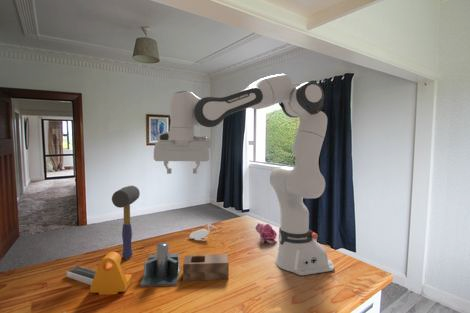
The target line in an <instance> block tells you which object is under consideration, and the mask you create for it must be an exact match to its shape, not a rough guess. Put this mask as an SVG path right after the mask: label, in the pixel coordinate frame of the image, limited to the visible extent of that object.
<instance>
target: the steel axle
mask: <svg viewBox="0 0 470 313" xmlns="http://www.w3.org/2000/svg"><path fill="white" fill-rule="evenodd" d="M156 254H157V262H156V276H157V277H165V276H167V275H168V254H169V243H168V242H164V241H162V242H158V243H157V244H156Z"/></svg>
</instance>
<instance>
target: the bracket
mask: <svg viewBox="0 0 470 313" xmlns="http://www.w3.org/2000/svg"><path fill="white" fill-rule="evenodd" d="M121 263H122V255H120V253H118V252H116V251H110V252H107V254H106V255H105V256H104V257H103V258H102V259H101V260H100V261H99V264H98V266H97V269H96V270H95V271H96V274H95V276H94V279H93V281H92V284H91V285H90V288H89V290H90V294H91V293H94V294H95V293H96V294H97V293H98V295H99V296H101V295H102V296H104V295H105V296H106V295H117V294H119V292H123V293H124V292H126V291H127V290H128V288H129V286H130V284H131V283H132V282H133V278H132V277H133V276H132V274H131V273H129V274H128V273H126V274H125V273H124V270H123V268H122V266H121Z"/></svg>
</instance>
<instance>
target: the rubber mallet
mask: <svg viewBox="0 0 470 313" xmlns="http://www.w3.org/2000/svg"><path fill="white" fill-rule="evenodd" d="M140 194H141V193H140V190H139V188H138V187H137V186H135V185H128V186H124V187H122V188H120V189H118V190H117V191H115V192H114V193H113V194H112V196H111V202H112V204H113V205H114V207H117V208H118V209H119V208H123V224H122V231H121V238H122V252H121V257H122V258H123V259H124V260H129V259H131V258H132V256H133V250H132V249H133V248H132V238H133V231H132V230H133V229H132V224H131V204H134V202H136V201H137V200H138V199H139V198H140Z"/></svg>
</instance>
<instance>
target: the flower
mask: <svg viewBox="0 0 470 313" xmlns="http://www.w3.org/2000/svg"><path fill="white" fill-rule="evenodd" d="M255 230H256V232H257V233H258V234H259V238H260V240H261V245H263V244H264V243H265V242H267V243H268V244H275V243H277V241H276V238H277V236H278V235H277V232H276V231H275V230H274V229H273V227H272V226H271V225H270V224H268V223H267V224H263V223H262V224H261V223H257V225H256V226H255Z"/></svg>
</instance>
